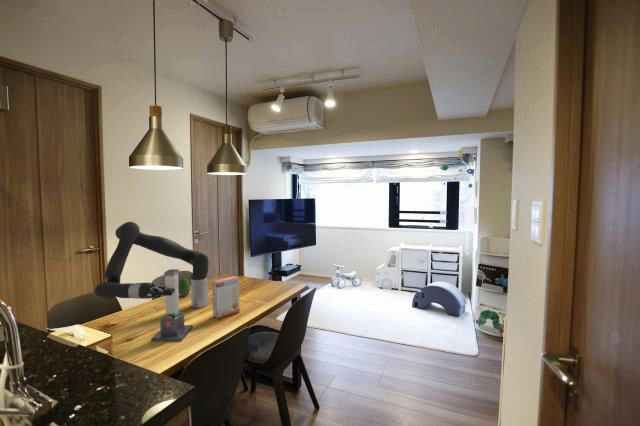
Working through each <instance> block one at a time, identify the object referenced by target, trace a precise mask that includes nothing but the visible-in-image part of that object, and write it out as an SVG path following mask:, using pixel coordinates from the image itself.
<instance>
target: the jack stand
mask: <svg viewBox="0 0 640 426" xmlns="http://www.w3.org/2000/svg"><path fill="white" fill-rule="evenodd" d="M159 320H160V325H159V327H160V329H159V330H158V331H157V332H156V333H155V334H154V335H153V336H152V337H150V341H151V342H181V341H183V340H184V339H185V338H186V336H187V335H188V334H189V333H190V332H191V331H192V329H193V324H185V312H184V311H183V312H182V311H181V312H180V311H179V315H178V316H177V317H173V315H168V316H166V313H165V314H164V315H163V316H162V317H160V319H159Z"/></svg>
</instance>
